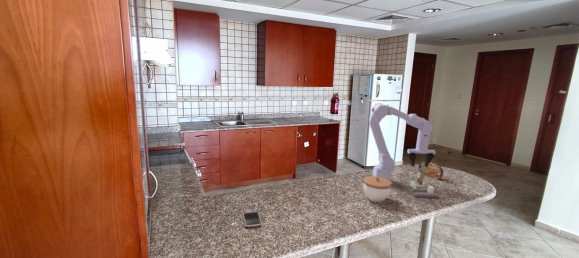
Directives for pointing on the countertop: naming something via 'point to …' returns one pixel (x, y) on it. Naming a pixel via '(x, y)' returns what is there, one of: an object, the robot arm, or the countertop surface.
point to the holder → (415, 186)
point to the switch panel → (422, 193)
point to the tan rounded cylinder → (420, 178)
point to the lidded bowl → (376, 188)
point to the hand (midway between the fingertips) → (419, 166)
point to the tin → (431, 170)
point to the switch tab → (430, 189)
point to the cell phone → (252, 219)
